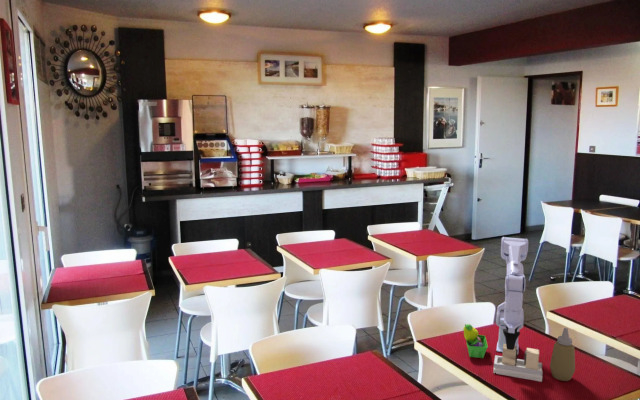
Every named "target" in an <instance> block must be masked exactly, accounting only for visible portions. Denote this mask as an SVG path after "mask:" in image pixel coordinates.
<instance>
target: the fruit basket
mask: <svg viewBox="0 0 640 400" xmlns="http://www.w3.org/2000/svg"><path fill="white" fill-rule="evenodd" d="M462 329H463V336H464V337H463V338H464V339H465V341H466V346H467V347H466V348H467V352H468V357H469V358H480V359H484V357H485V354H486V351H487V349H488V347H489V346H488V341H487V338H486V335H483V334H479V331H478V330H477V329H476V328H475V327H474V326H473V325H472V324H469V323H468V324H466V323H465V324H464V326H463V328H462Z"/></svg>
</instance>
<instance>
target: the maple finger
mask: <svg viewBox="0 0 640 400" xmlns="http://www.w3.org/2000/svg"><path fill="white" fill-rule="evenodd" d="M517 352H518V353H519V349H516V346H514V349H513V350H509V349H507V346H506V344H503V352H502V355H501V356H502V364H506V365H512V366H515V363H517V359H518V355H517Z"/></svg>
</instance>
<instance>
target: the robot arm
mask: <svg viewBox="0 0 640 400" xmlns="http://www.w3.org/2000/svg"><path fill="white" fill-rule="evenodd" d="M500 242H501V243H500V256H501V259H503V260H505V263H506V275H505V278H504V279H505V281H504V289H505V290H504V292H505V294H504V295H505V296H504V299H505V300H504V302H502V303H501V304H499V305H498V306H497V307H496V308H497V310H496V319H495V321H496V322H495V324H496V326H498V327H499V328H498V341H497V343H496V350H495V351H496V352H499V353H503V344H506V346H507V349H509V350H513V349H514V346H516V349H518V350H519V348H520V347H519V345H520V344H519V337H520V335H521V332H520V330H521V329H523V328H524V323H525V322H524V320H525V319H524V316H525V314H524V309H523V302H524V301H523V300H524V293H525V291H526V276H525V274H524V265H523V263H521V262H523V261H525V260H526V258H527V256H528V251H529V239H528V238H520V237H519V238H516V237H506V236H502V237H501V241H500ZM518 355H519V351H518V352H517V356H518Z"/></svg>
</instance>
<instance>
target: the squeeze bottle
mask: <svg viewBox="0 0 640 400" xmlns="http://www.w3.org/2000/svg"><path fill="white" fill-rule="evenodd" d="M575 350H576V349H575V346H574V345H573V339H572V338H571V337H570V335H569V328H567V327H564V328H563V330H562V334H561V335H559V336H558V337H557V341H556V342H555V343H554V345H553V349H552V354H551V359H550V365H549V367H550V372H551V374H552V377H553V378H555V380H558V381H563V382H568V381H570V380H571V379H572V378H573V375H574V373H575V371H576V352H575Z"/></svg>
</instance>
